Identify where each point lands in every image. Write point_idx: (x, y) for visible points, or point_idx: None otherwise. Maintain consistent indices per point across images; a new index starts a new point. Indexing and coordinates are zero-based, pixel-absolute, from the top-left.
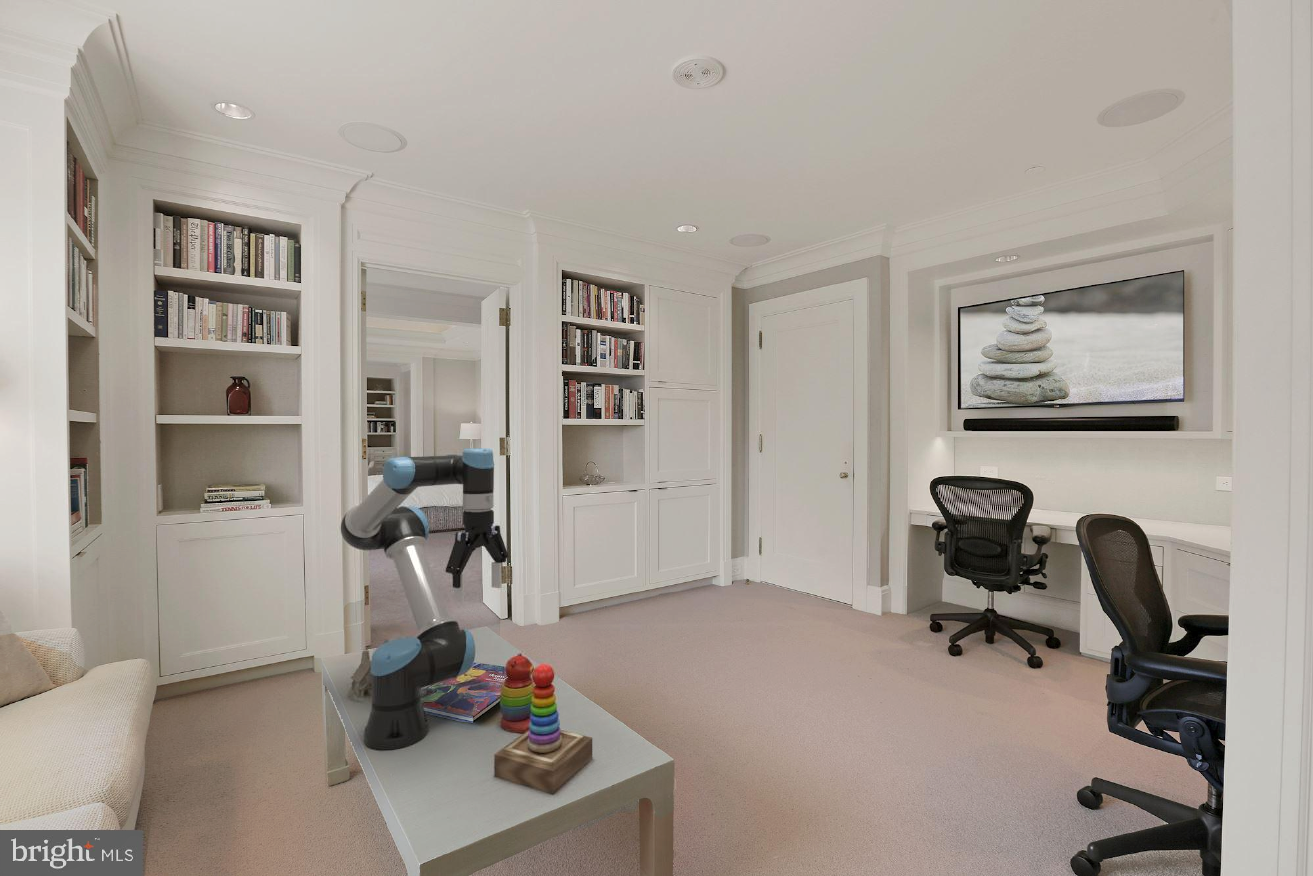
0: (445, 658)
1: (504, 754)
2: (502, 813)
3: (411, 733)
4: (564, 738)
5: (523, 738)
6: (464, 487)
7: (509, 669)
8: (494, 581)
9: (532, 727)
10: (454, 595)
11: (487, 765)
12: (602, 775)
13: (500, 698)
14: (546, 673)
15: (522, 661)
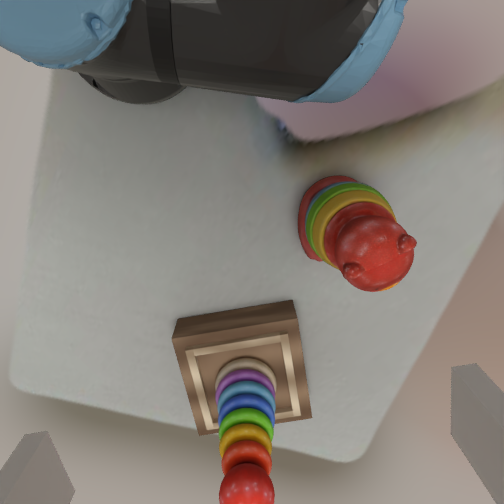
0: (223, 84)
1: (182, 351)
2: (129, 390)
3: (132, 101)
4: (284, 387)
5: (232, 349)
6: None
7: (338, 257)
8: (482, 431)
9: (218, 407)
10: (6, 468)
11: (191, 285)
12: (278, 427)
13: (313, 208)
14: None
15: (373, 285)
